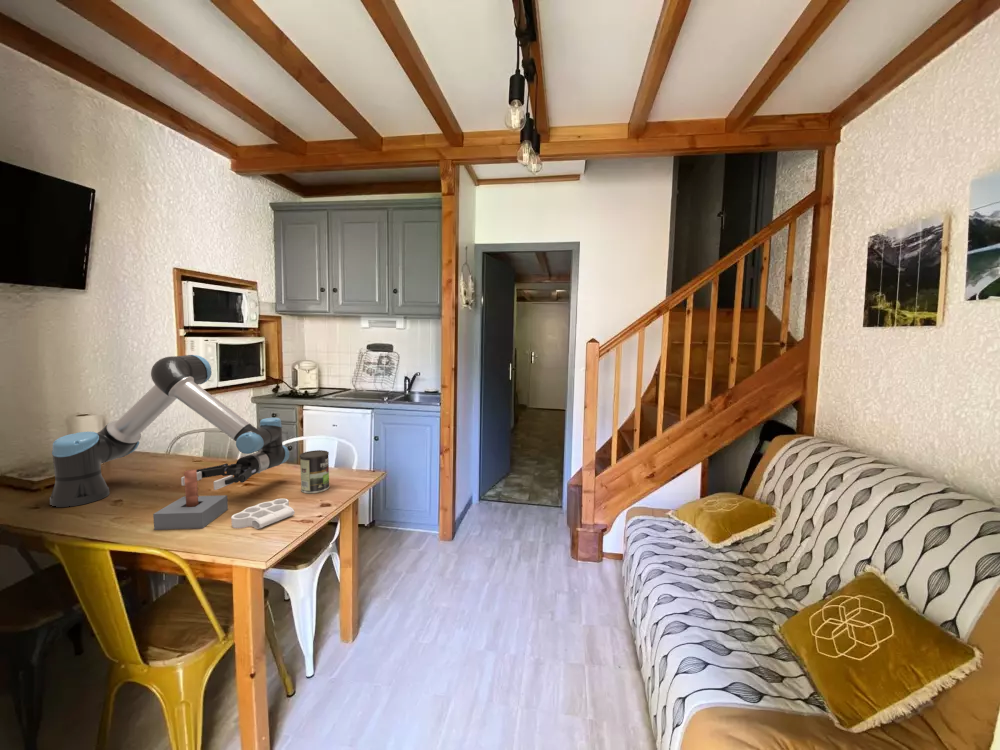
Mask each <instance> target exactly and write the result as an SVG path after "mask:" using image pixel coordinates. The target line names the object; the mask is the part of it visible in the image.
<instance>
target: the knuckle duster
mask: <svg viewBox="0 0 1000 750" xmlns="http://www.w3.org/2000/svg"><path fill="white" fill-rule="evenodd" d="M295 513H296V512H295V510H294V508H293V507H291V506H290V505H289V499H287V498H276V499H274V500H271V501H264V502H260V503H257V504H256V505H253V506H248V507H246V508H245V509H243V510H242V511H239V512H237V513H234V514H233V515H231V517H230V519H231V527H232V528H234V529H244V528H247V527H248V528H249V527H251V528H252V527H253V528H254V529H256V530H258V529H259V530H261V529H262V528H265V527H266V526H269V525H272V524H275V523H277V522H280V521H282V520H284V519H287V518H289V517H292V516H294V515H295Z"/></svg>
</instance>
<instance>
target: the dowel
mask: <svg viewBox="0 0 1000 750" xmlns="http://www.w3.org/2000/svg"><path fill="white" fill-rule="evenodd" d="M197 470H198V469H188V470H185V471H183V473H184V474H183V477H184V479H185V485H184V491H185V492H184V493H185V494H184V495H185V496H186V507H196V506H197V505H198V496H199V490H198V481H197Z"/></svg>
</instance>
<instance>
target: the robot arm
mask: <svg viewBox="0 0 1000 750" xmlns="http://www.w3.org/2000/svg"><path fill="white" fill-rule="evenodd" d="M211 376H212V366H211V364H210V362H209V361H208V360H207V359H206V358H205V357H202V356H201V355H196V354H195V355H194V354H187V355H176V356H175V355H174V356H165V357H162V358H160V359H158V360H157V361H156V362H155V363H154V364H153V365H152V368H151V371H150V377H151V380H152V382H153V383H154V385H153V386H152V387H151V388H150V389H149V390H148V391H147V392H146V393H145V394H144V395H143V396H141V398H140V399H138V401H137V402H136V403H134V405H132V406H131V407H130V409H128V410H127V411H126V412H125V413H124V414H123V415H122V416H121V417H120V418H119V419H118V420H111V421H110V422H108V423H107V424H106V425H105V426H104V427H103V428H102V429H101V430H100V431H98V432H95V431H81V432H80V431H79V432H76V433H70V434H66V435H63V436H60V437H58V438H57V439H55V440H54V441H53V442H52V451H51V455H52V460H53V471H54V479H55V482H54V486H53V489H52V491H51V495H50V497H49V505H52V506H56V507H55V508H69V506H70V507H75V506H76V507H77V506H81V505H82V506H83V505H87V504H90V503H94V502H96V501H100V500H102V499H105V498H106V497H109V495H110V487H109V486H108V485H107V483H106V480H105V478H104V476H103V475H102V464H104V463H108V462H111V461H113V460H117V459H121V458H124V457H127V456H128V455H130V454H132V453H133V452H135V451H136V450H137V448H138V447H139V446H140V440H141V439H142V433H143V432H144V430H146V429H147V428H148V427H149V426H150V425H151V424H152V423H153V422H154V421H155V420H156V419H157V418H158V417H160V415H161V414H163V412H164V411H166V409H168V408H169V407H170V405H172V404H173V403H174V402H175V401H176V400H179V401H180V402H181V403H183V404H184V405H186V406H187V407H188V408H189V409H191V410H192V411H194V412H195V414H197V415H199V416H201V417H202V418H203V419H205V420H206V421H207V422H209V423H210V424H212V425H213V426H214V427H216V428H218V429H219V430H220V432H222V433H224V434H225V435H227V436H228V437H229V438H231V439H232V440H233V441H235V446H236V448H237V450H238V451H239V452H240V453H242V454H244V455H245V456H242V457H240V458H238V460H236V463H231V464H229V463H224V464H223V463H222V464H219V465H215V466H214V465H213V466H210V467H204V468H198V469H196V470H197V482H198V481H201V480H203V479H204V478H211V477H217V476H223V478H219V479H216V480H214V481H213V490H214V491H216V490H217V491H218V490H219V489H222V488H225V487H226V486H229V485H232V484H234V483H235V484H237V483H241V484H242V483H246V481H247V480H248V479H250V478H251V477H252V476H254V475H256V474H261V472H264V471H266V470H269V469H272V468H274V467H278V466H280V465H282V464H283V463H286V462H287V461H288V460H289V459H290V451H289V449H288V447H287V446H285V445H284V444H283V425H282V419H281V418H279V417H267V418H262V419H260V421H259V427H257V428H256V426H254V425H252V424H251V423H249V422H248V421H247V420H246V419H244V418H243V417H241V416H240V415H239V414H238V413H236V412H235V411H233V409H231V408H230V407H228V406H227V405H225V404H224V403H223V402H221V401H220V400H219V399H217V398H216V397H214V396H213V395H212V394H211V393H210V392H208V391H206V390H205V389H204V388H202V387H201V386H200V385H203V384H204V383H207V382H208V381H209V379H211ZM180 481H181V486H184V487H185V479H184V476H182V477H180ZM52 506H51V507H52Z"/></svg>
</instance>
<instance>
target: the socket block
mask: <svg viewBox="0 0 1000 750" xmlns="http://www.w3.org/2000/svg"><path fill="white" fill-rule="evenodd" d="M228 510H229V504H228V495H227V494H226V495H225V494H224V495H222V494H221V495H198V505H197V506H196V507H186V495H185V496H184V495H183V496H182V497H180V498H178V499H177V500H175V501H173V502H171V503H170V504H168V505H167V506H164V507H163V508H161V509H159V510H158V511H156V512H154V513H153V514H152V515H153V516H152V517H153V530H155V531H157V530H158V531H159V530H161V531H162V530H186V529H187V530H189V529H204V528H205V527H206V526H208V525H209V524H210V523H212V522H213V521H215V520H216V519H217V518H218V517H219V516H222V514H224V513H225V512H226V511H228Z"/></svg>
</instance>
